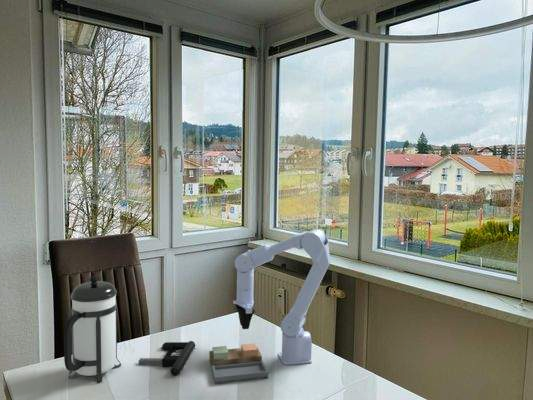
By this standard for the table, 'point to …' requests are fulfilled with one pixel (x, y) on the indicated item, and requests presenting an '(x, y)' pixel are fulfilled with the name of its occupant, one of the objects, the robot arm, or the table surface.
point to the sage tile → (220, 352)
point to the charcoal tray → (239, 372)
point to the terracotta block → (249, 350)
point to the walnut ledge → (234, 358)
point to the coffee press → (92, 330)
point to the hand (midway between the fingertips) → (244, 326)
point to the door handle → (172, 361)
